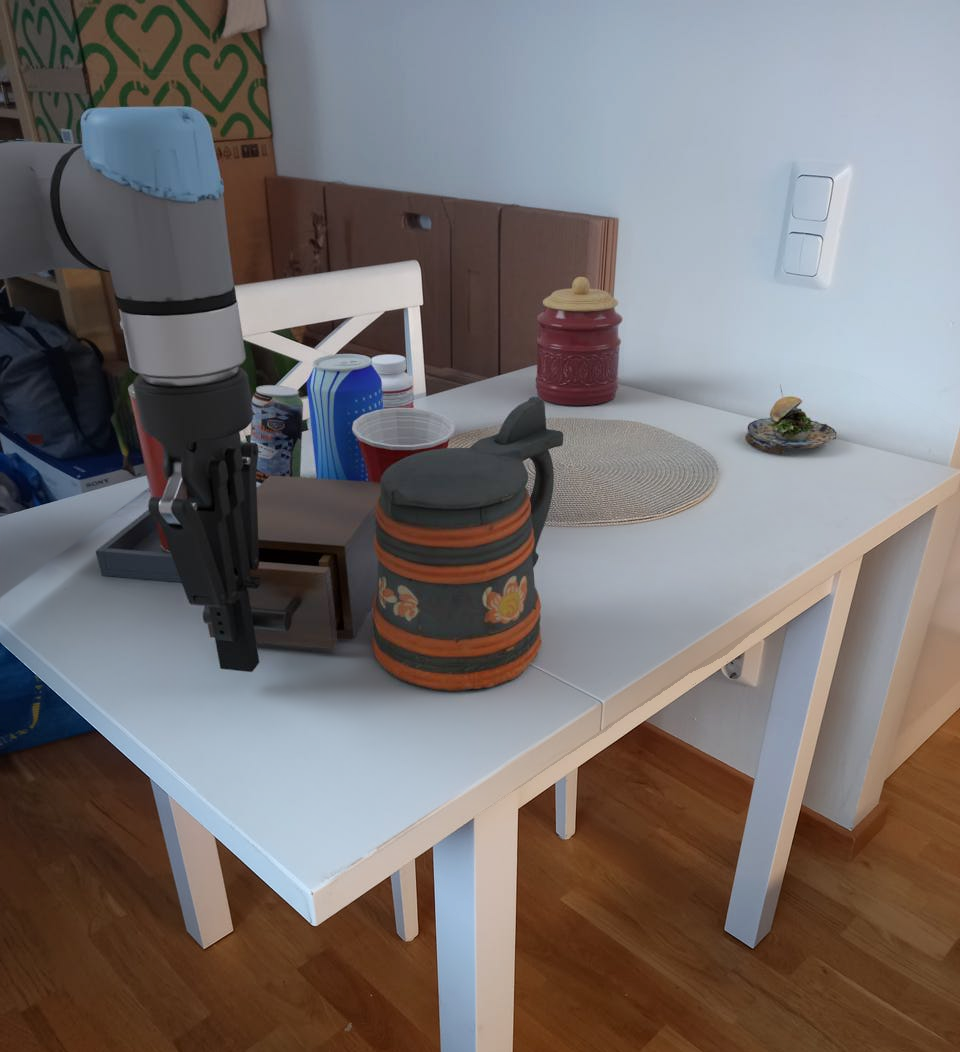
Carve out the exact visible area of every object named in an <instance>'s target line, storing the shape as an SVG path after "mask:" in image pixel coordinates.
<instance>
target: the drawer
mask: <svg viewBox="0 0 960 1052" xmlns="http://www.w3.org/2000/svg"><path fill="white" fill-rule="evenodd" d="M250 572H251V577H260V585H259V587H258V588H257V589H254V588H247V591H248V593H249V600H250V606H251V612H252V619H253V625H254V631H255V638H256V643H263V644H264V643H265V644H266V643H267V644H275V645H276V644H277V645H286V646H296V647H308V648H317V649H327V650H328V649H330V650H334V649H335V647H336V646H337V644H338V642H339V641H338V640H339V639H338V637H337V630H336V628H337V627H338V625H339V624H340V622H341V621H342V619H343V610H342V600H341V590H340V580H339V571H338V561H337V554H334V553H321V552H308V551H295V550H282V549H269V548H259V567H258V569H257V570H251V571H250ZM202 620H203V622H204V623H205V624H207V628H208V634H209V637H210V638H212V639H213V638H214V639H215V636H214V631H213V626H212V621H211V615H210V610H209V606H203V610H202Z"/></svg>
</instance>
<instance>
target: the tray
mask: <svg viewBox="0 0 960 1052" xmlns="http://www.w3.org/2000/svg"><path fill="white" fill-rule="evenodd" d="M95 554H96V558H97V563H98V566H99V570H100V574H101V576H102V577H103V576H104V577H114V578H124V579H125V578H127V579H138V580H149V581H161V582H162V581H163V582H173V583H182V582H181V579H180V577H179V574H178V571H177V569H176V566H175V563H174V561H173V558H172V555H171V553H163V551H162V549H161V542H160V537H159V532H158V527H157V522H156V520H155V519H154V518H153V516H152V515H151V514H150V512H149V509H147V510H146V511H144V512H143V513H142V514H141V515H139V516H138V517H137V518H135V519H134V520H133V521H131V522H130V523H129V524H128V525H127V526H126V527H124V528H123V529H122V530H120V531H119V532H118V533H116V534H115V535H114V536H113V537H111V538H110V539H109V540H107V541H106V542H104V544H102V545H101V546H99V548H97V549H96V550H95Z"/></svg>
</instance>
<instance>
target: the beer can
mask: <svg viewBox="0 0 960 1052" xmlns="http://www.w3.org/2000/svg"><path fill="white" fill-rule="evenodd" d="M312 366H313V368H312V370H311V372H310V375H309V376H308V379H307V382H306V391H307V399H308V400H307V401H308V402H307V403H308V409H309V410H308V411H309V421H310V427H311V438H312V447H313V455H314V466H315V474H316V478H318V479H334V480H350V481H366V482H370V481H369V477H368V473H367V468H366V464H365V460H364V457H363V455H362V451H361V447H360V446H359V441H358V440H357V437H356V436H355V435H354V433H353V431H352V427H353V422H354V421H355V420H356V419H358V418H359V417H360V416H362V415H364V414H367V413H370V412H373V411H376V410H382V409H383V395H382V381H381V378H380V376H379V375H378V373H377V372H376V370H375V369H374V367H373V366H372V357H369V356H367V355H363V354H356V353H338V354H337V353H336V354H328V355H324V356H321V357H318V358H316V359H313V361H312Z"/></svg>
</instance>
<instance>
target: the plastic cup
mask: <svg viewBox="0 0 960 1052" xmlns="http://www.w3.org/2000/svg"><path fill="white" fill-rule="evenodd" d="M352 431H353V433H354V435H355V436H356V437H357V440H358V441H359V446H360V447H361V451H362V455H363V457H364V460H365V464H366V468H367V473H368V477H369V481H370V482H380V481H381V477H382V475H383V473H384V472H385V471H386V470H387V469H388V468H389V467H390V466H391V465H393V464H395V463H396V462H398V461H400V460H402V459H404V458H406V457H408V456H411V455H414V454H417V453H420V452H424V451H429V450H435V449H444V448H449V442H450V441H451V439H452V437H453V436H454V434H455V423H454V422H453V421H452V420H451V419H450V418H449V417H448V416H446V415H444V414H441V413H439V412H436V411H433V410H427V409H422V408H417V407H414V408H389V409H382V410H376V411H373V412H370V413H367V414H364V415H362V416H360V417H359V418H358V419H356V420H355V421H354V422H353V427H352Z"/></svg>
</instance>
